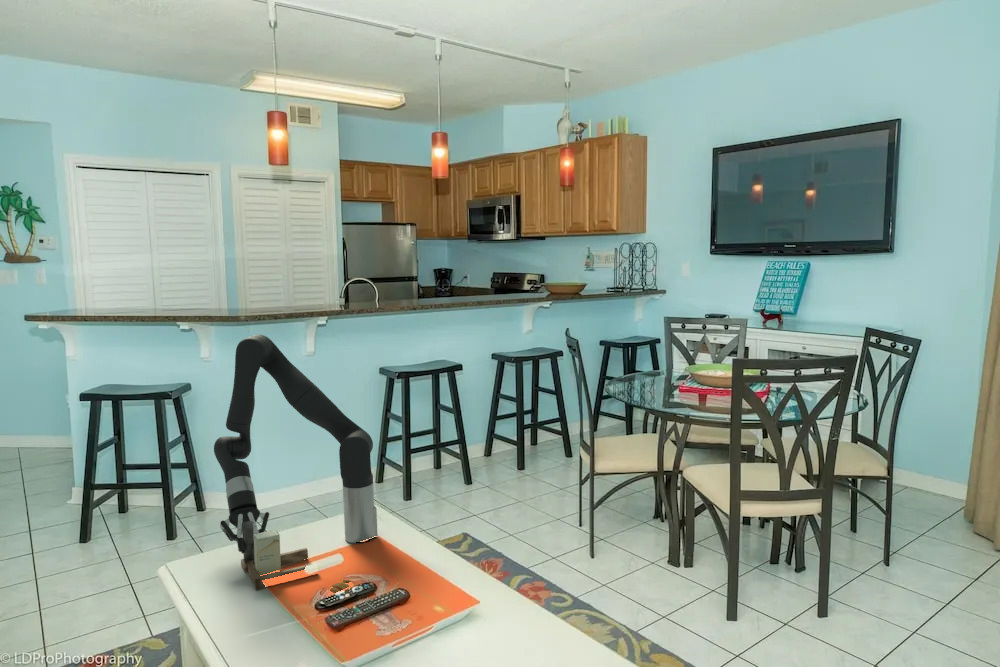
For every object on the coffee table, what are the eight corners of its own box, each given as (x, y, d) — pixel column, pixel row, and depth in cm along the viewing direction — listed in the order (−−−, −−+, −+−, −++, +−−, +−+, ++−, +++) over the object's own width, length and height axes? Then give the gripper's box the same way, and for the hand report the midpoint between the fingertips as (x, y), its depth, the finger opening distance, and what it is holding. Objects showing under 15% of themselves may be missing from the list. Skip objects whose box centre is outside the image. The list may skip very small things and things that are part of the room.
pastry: (331, 612, 158) (330, 597, 157) (313, 604, 162) (312, 590, 161) (360, 596, 165) (359, 581, 165) (342, 589, 169) (341, 575, 169)
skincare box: (258, 583, 173) (255, 539, 172) (255, 577, 176) (252, 533, 175) (282, 577, 176) (279, 534, 175) (278, 571, 180) (276, 528, 179)
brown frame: (301, 550, 192) (299, 509, 191) (318, 574, 177) (316, 530, 176) (241, 564, 184) (238, 522, 183) (253, 591, 168) (250, 544, 167)
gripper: (215, 493, 184) (223, 550, 175) (267, 485, 191) (277, 539, 182) (214, 506, 189) (222, 562, 180) (264, 497, 196) (274, 550, 187)
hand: (250, 550), depth 181 cm, fingers closed on brown frame, 3 cm apart
